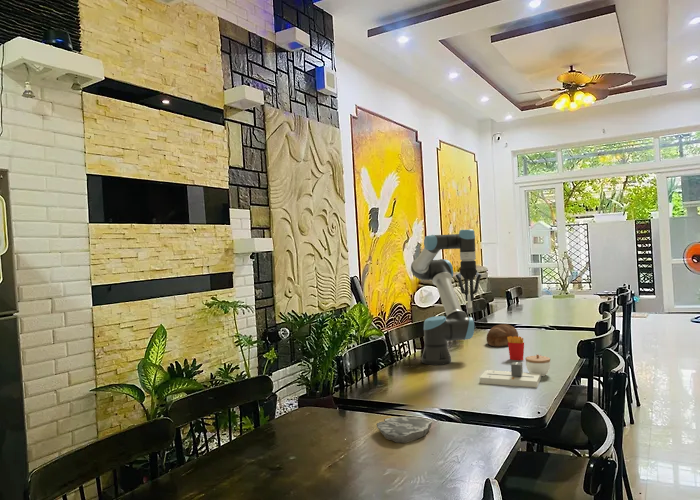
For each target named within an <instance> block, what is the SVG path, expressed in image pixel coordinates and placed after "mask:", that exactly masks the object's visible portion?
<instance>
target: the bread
mask: <svg viewBox="0 0 700 500" xmlns="http://www.w3.org/2000/svg"><path fill="white" fill-rule="evenodd" d="M510 336H512V337H514V336H515V337H519V332H518V330H517V328H516V327H514V326H513V325H511V324H509V323H502V324H496V325H494V326H492V327H491V328H490V329H489V330H488V332H487V334H486V338H485V339H486V343H487V344H488V345H489V346H491V347H495V348H496V347H498V348H499V347H508V339H507V337H510Z"/></svg>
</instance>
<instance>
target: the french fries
mask: <svg viewBox="0 0 700 500" xmlns="http://www.w3.org/2000/svg"><path fill="white" fill-rule="evenodd" d="M507 339H508V346H507V347H508V354H509V359H510V360H511V361H523V360H524V356H525V355H524V354H525V353H524V351H525V342H524V337H522V336H519V335H518V337H515V336H514V337H512V336H510V337H507Z"/></svg>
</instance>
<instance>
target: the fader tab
mask: <svg viewBox="0 0 700 500" xmlns="http://www.w3.org/2000/svg"><path fill="white" fill-rule="evenodd" d="M510 369H511V370H510V372H511V374H512V376H520V377H521V376H522V374H523V372H524V371H523V362H520V361H517V362H516V361H512V362H511V364H510Z"/></svg>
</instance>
